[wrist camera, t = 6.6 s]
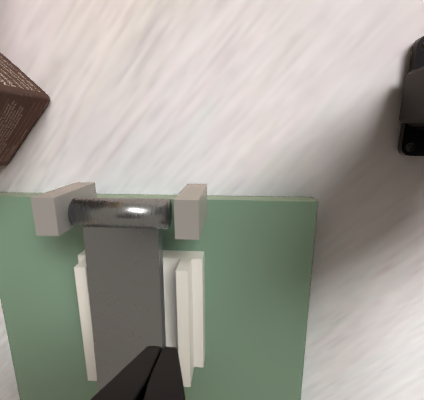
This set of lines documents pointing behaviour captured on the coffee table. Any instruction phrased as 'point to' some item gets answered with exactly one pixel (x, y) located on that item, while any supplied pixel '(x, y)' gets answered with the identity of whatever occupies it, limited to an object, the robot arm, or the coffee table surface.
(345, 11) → the coffee table surface
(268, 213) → the board
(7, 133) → the box
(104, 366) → the grey hinged lever
